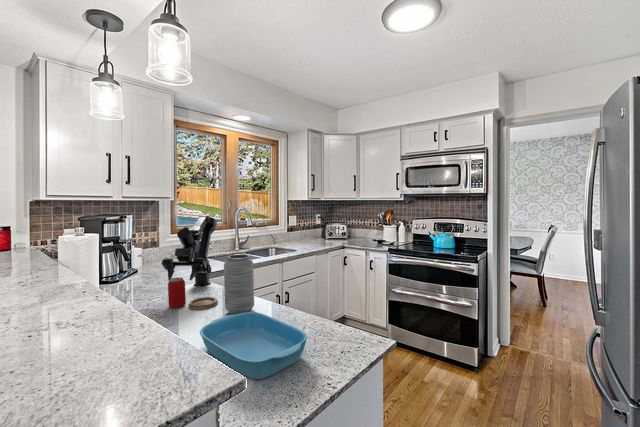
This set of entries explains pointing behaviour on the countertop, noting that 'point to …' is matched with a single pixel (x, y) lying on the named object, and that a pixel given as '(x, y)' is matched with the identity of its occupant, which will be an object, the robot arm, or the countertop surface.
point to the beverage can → (176, 293)
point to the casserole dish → (254, 343)
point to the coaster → (203, 303)
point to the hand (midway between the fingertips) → (179, 280)
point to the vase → (239, 284)
